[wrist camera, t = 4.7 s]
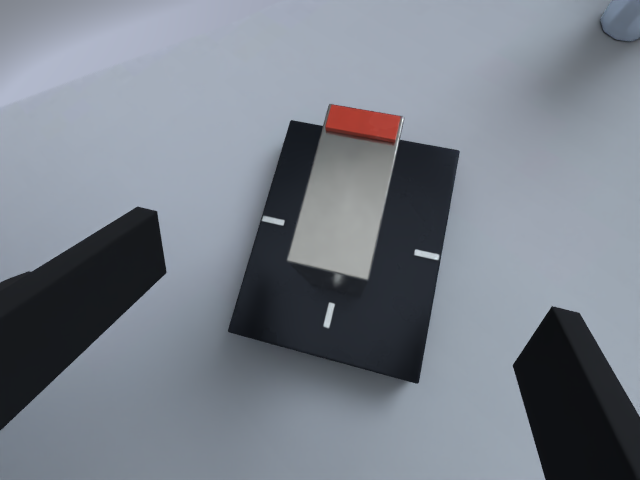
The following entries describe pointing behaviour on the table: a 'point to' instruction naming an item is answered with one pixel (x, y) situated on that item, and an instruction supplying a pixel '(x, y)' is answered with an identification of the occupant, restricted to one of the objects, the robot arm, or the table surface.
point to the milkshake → (622, 20)
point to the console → (386, 273)
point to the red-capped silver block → (345, 199)
